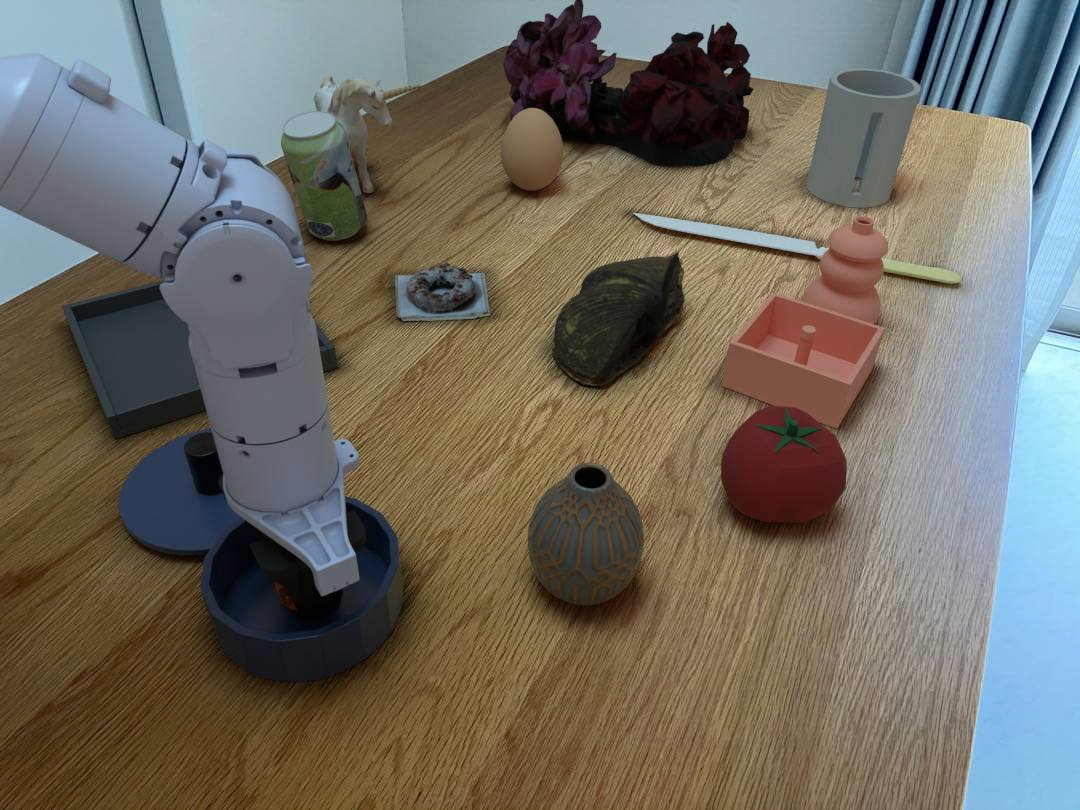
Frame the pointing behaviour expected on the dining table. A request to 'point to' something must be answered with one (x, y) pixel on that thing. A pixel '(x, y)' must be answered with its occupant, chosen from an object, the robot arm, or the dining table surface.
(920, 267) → the knife
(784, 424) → the tomato
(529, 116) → the egg
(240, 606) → the tin
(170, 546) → the tin lid
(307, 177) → the beverage can
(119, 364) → the tray
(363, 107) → the unicorn figurine
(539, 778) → the dining table surface
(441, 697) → the dining table surface
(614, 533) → the vase
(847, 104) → the cup
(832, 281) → the pottery
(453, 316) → the donut
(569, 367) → the seashell
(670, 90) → the flower arrangement
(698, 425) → the dining table surface
